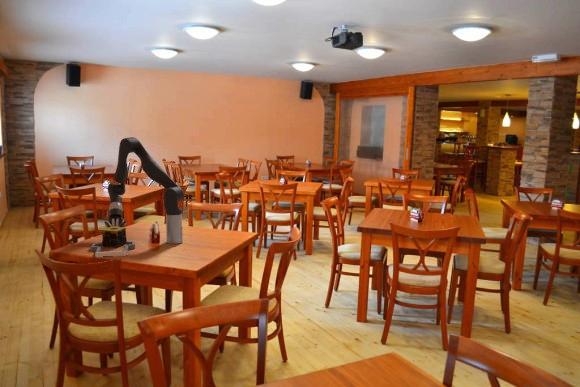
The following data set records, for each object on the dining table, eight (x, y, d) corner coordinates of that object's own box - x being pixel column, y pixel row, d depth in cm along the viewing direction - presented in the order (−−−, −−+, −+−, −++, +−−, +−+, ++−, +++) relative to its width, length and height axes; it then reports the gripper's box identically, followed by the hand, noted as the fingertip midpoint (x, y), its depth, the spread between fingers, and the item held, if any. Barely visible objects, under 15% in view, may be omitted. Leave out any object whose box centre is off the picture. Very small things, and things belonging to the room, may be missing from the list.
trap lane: (135, 245, 284) (135, 240, 283) (134, 255, 262) (134, 250, 262) (92, 247, 277) (92, 243, 277) (88, 257, 256) (88, 253, 256)
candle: (117, 248, 276) (117, 231, 275) (101, 247, 278) (101, 229, 277) (127, 243, 286) (126, 227, 285) (111, 242, 288) (111, 226, 287)
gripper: (103, 208, 293) (102, 232, 283) (126, 207, 296) (126, 231, 287) (104, 214, 299) (103, 239, 289) (127, 214, 302) (127, 238, 293)
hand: (115, 235), depth 288 cm, fingers closed
